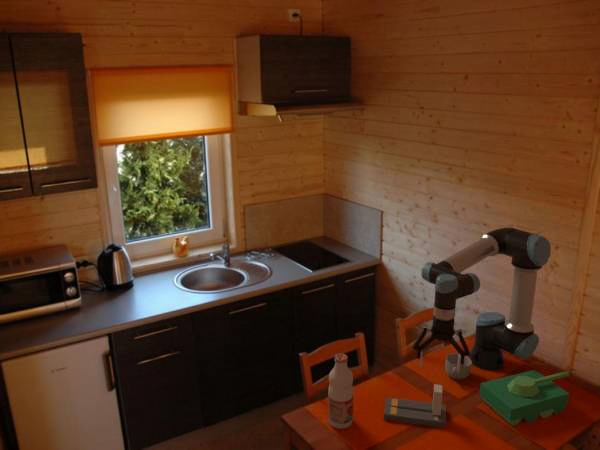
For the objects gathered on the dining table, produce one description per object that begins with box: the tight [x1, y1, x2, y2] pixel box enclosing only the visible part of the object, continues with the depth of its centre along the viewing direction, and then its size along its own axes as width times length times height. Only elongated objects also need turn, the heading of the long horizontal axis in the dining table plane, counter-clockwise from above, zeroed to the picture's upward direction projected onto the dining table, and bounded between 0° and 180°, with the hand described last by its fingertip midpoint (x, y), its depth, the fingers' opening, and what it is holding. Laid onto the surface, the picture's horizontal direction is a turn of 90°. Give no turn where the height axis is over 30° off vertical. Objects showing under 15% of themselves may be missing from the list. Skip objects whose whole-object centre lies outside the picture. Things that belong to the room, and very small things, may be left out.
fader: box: [432, 383, 443, 416], centre depth 204 cm, size 3×5×10 cm, turn 167°
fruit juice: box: [327, 353, 354, 430], centre depth 201 cm, size 9×9×28 cm
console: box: [383, 396, 447, 429], centre depth 208 cm, size 23×11×3 cm, turn 77°
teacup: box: [444, 352, 473, 380], centre depth 231 cm, size 14×11×8 cm
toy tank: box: [479, 369, 570, 426], centre depth 212 cm, size 18×12×35 cm
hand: (439, 368), depth 200 cm, fingers open, 13 cm apart
